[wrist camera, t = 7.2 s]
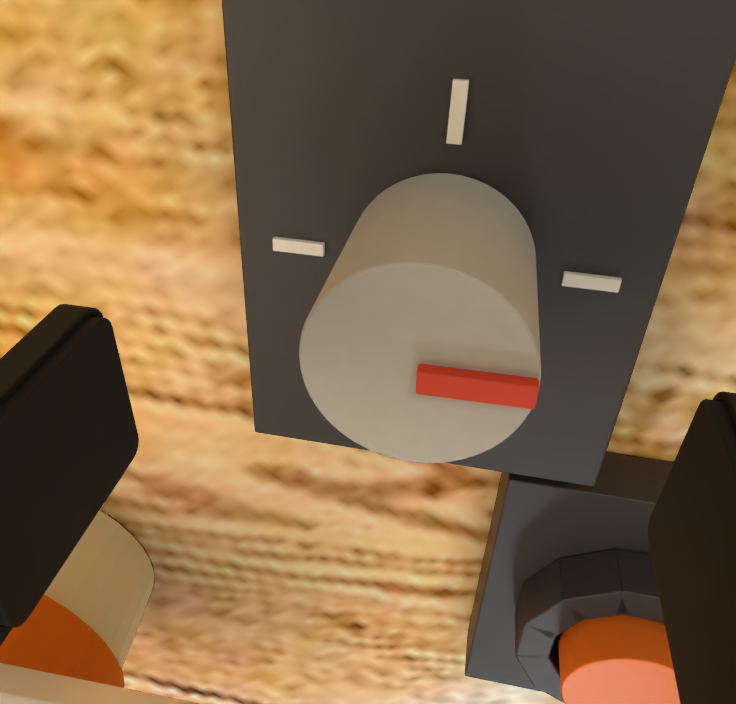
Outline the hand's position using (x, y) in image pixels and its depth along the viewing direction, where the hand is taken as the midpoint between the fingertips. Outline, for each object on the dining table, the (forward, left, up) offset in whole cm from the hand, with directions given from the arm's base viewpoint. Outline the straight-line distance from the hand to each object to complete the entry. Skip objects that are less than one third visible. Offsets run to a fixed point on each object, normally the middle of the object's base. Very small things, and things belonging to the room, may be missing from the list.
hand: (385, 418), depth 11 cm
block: (+15, +8, -10) cm, 20 cm away
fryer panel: (+1, 0, -10) cm, 10 cm away
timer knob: (+1, 0, -7) cm, 7 cm away
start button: (+15, +8, -7) cm, 18 cm away
